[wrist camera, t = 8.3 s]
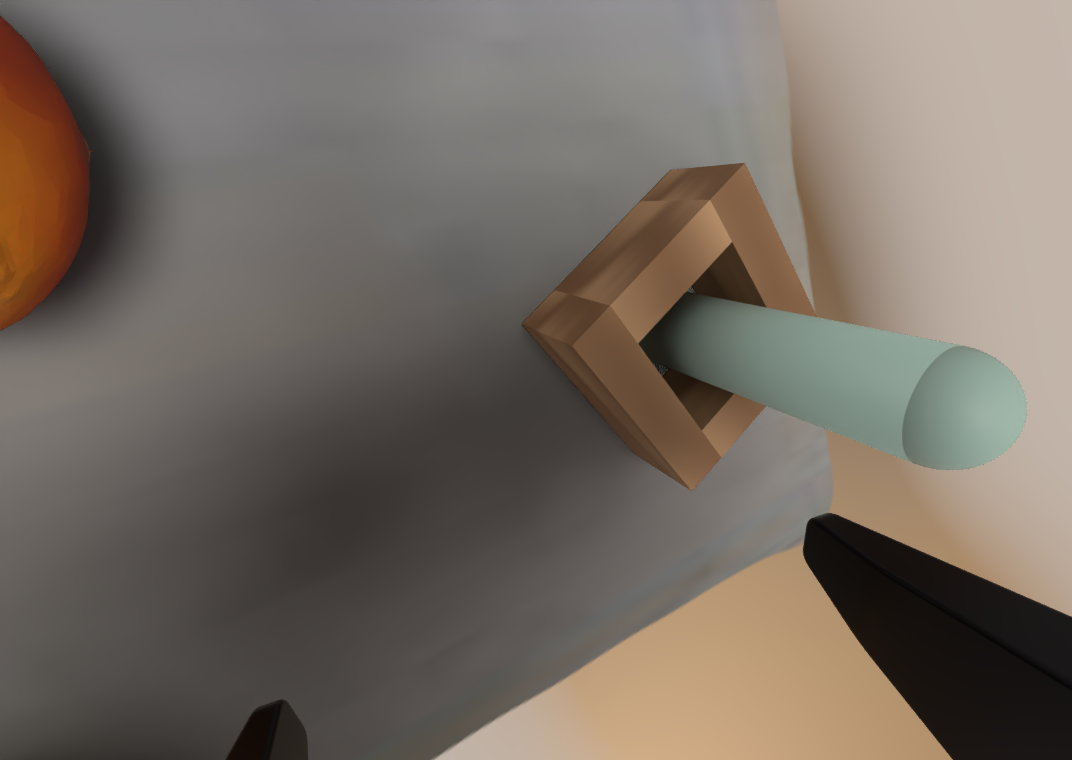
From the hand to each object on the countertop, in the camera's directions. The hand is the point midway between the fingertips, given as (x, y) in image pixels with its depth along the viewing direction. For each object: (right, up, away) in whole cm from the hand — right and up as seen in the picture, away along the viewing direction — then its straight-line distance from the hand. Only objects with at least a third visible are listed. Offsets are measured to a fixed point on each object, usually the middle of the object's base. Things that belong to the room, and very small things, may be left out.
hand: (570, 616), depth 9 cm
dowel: (+5, +6, +15) cm, 17 cm away
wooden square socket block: (+5, +6, +15) cm, 17 cm away
